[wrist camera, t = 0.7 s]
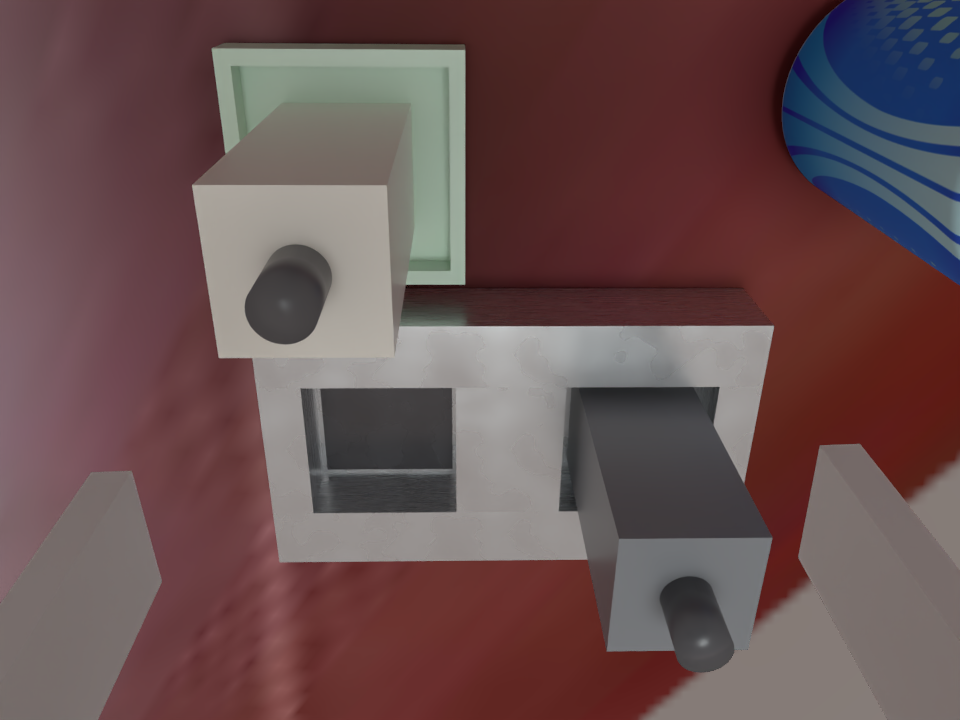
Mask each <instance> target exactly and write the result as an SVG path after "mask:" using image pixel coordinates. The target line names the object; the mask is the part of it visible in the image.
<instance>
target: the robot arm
mask: <svg viewBox="0 0 960 720" xmlns="http://www.w3.org/2000/svg"><path fill="white" fill-rule="evenodd" d="M798 558H799V560H800V562H801V563H802V565H803V567H804V569H805V571H806V573H807V574H808V576H809V578H810V580H811V582H812V584H813V585H814V587H815V589H816V591H817V593H818V594H819V596H820V598H821V600H822V602H823V603H824V605H825V607H826V609H827V611H828V613H829V614H830V616H831V618H832V620H833V622H834V623H835V625H836V627H837V629H838V631H839V633H840V634H841V636H842V638H843V640H844V641H845V644H846V645H847V647H848V649H849V651H850V653H851V655H852V656H853V658H854V660H855V662H856V663H857V665H858V667H859V669H860V671H861V673H862V675H863V676H864V678H865V680H866V682H867V684H868V686H869V687H870V689H871V691H872V693H873V695H874V696H875V698H876V700H877V702H878V704H879V705H880V707H881V709H882V711H883V713H884V715H885V717H886V718H887V720H960V570H959V568H958V567H957V566H956V565H955V563H954V562H953V561H952V559H951V558H950V557H949V556H948V554H947V553H946V552H945V551H944V549H943V548H942V547H941V546H940V544H939V543H938V542H937V541H936V539H935V538H934V537H933V536H932V534H931V533H930V532H929V530H928V529H927V528H926V527H925V525H924V524H923V523H922V522H921V520H920V519H919V518H918V517H917V515H916V514H915V513H914V512H913V510H912V509H911V508H910V506H909V505H908V504H907V503H906V501H905V500H904V499H903V498H902V496H901V495H900V494H899V493H898V491H897V490H896V489H895V488H894V486H893V485H892V484H891V483H890V481H889V480H888V479H887V478H886V476H885V475H884V474H883V472H882V471H881V470H880V469H879V467H878V466H877V465H876V464H875V462H874V461H873V460H872V459H871V457H870V456H869V455H868V454H867V452H866V451H865V450H864V449H863V447H862V446H861V445H860V444H847V445H820V448H819V453H818V458H817V463H816V469H815V474H814V479H813V484H812V489H811V494H810V499H809V505H808V510H807V515H806V520H805V525H804V530H803V536H802V541H801V546H800V551H799V556H798ZM161 582H162V580H161V576H160V573H159V569H158V566H157V562H156V558H155V555H154V551H153V547H152V544H151V540H150V536H149V533H148V529H147V525H146V522H145V518H144V514H143V511H142V507H141V503H140V500H139V496H138V492H137V489H136V485H135V481H134V478H133V474H132V471H115V472H91V473H90V475H89V476H88V478H87V479H86V481H85V482H84V484H83V485H82V486H81V488H80V489H79V491H78V492H77V494H76V495H75V497H74V498H73V500H72V501H71V502H70V504H69V505H68V507H67V508H66V510H65V511H64V513H63V514H62V515H61V517H60V518H59V520H58V521H57V523H56V524H55V526H54V527H53V528H52V530H51V531H50V533H49V534H48V536H47V537H46V539H45V540H44V542H43V543H42V544H41V546H40V547H39V549H38V550H37V552H36V553H35V555H34V556H33V557H32V559H31V560H30V562H29V563H28V565H27V566H26V568H25V569H24V570H23V572H22V573H21V575H20V576H19V578H18V579H17V581H16V582H15V583H14V585H13V586H12V588H11V589H10V591H9V592H8V594H7V595H6V597H5V598H4V599H3V601H2V602H1V604H0V720H98V718H99V716H100V714H101V712H102V710H103V708H104V705H105V703H106V701H107V699H108V697H109V695H110V693H111V690H112V688H113V686H114V684H115V682H116V680H117V677H118V675H119V673H120V671H121V669H122V667H123V664H124V662H125V660H126V658H127V656H128V654H129V652H130V649H131V647H132V645H133V643H134V641H135V639H136V636H137V634H138V632H139V630H140V628H141V626H142V623H143V621H144V619H145V617H146V615H147V613H148V610H149V608H150V606H151V604H152V602H153V600H154V598H155V595H156V593H157V591H158V589H159V587H160V585H161Z"/></svg>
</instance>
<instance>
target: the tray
mask: <svg viewBox="0 0 960 720" xmlns="http://www.w3.org/2000/svg"><path fill="white" fill-rule="evenodd" d="M212 56H213V63H214V71H215V78H216V85H217V93H218V100H219V108H220V115H221V123H222V130H223V138H224V145H225V153H228V152H229V151H230V150H231V149H232V148H233V147H234V146H235V145H236V144H237V143H239V142H240V141H241V140H242V139H243V138H244V137H245V136H246V135H247V134H248V133H249V132H251V131H252V130H253V129H254V128H255V127H256V126H257V125H258V124H259V123H260V122H262V121H263V120H264V119H265V118H266V117H267V116H268V115H269V114H270V113H271V112H273V111H274V110H275V109H276V108H277V107H278V106H279V105H280V104H281V103H411V116H412V151H413V185H414V219H415V229H414V235H413V241H412V248H411V254H410V261H409V267H408V274H407V280H406V285H465V45H464V44H311V43H223V44H221V45H218V46H216V47H214V48H212Z"/></svg>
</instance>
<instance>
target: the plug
mask: <svg viewBox="0 0 960 720" xmlns="http://www.w3.org/2000/svg"><path fill="white" fill-rule="evenodd" d="M192 188H193V195H194V201H195V208H196V214H197V220H198V227H199V233H200V240H201V246H202V253H203V259H204V266H205V272H206V278H207V285H208V291H209V298H210V304H211V311H212V317H213V324H214V330H215V337H216V343H217V349H218V356H219V358H395V351H396V345H397V338H398V332H399V326H400V319H401V313H402V306H403V300H404V293H405V287H406V280H407V274H408V267H409V261H410V254H411V248H412V241H413V235H414V229H415V219H414V185H413V151H412V116H411V103H281V104H280V105H279V106H278V107H277V108H276V109H275V110H274V111H273V112H271V113H270V114H269V115H268V116H267V117H266V118H265V119H264V120H263V121H262V122H260V123H259V124H258V125H257V126H256V127H255V128H254V129H253V130H252V131H251V132H249V133H248V134H247V135H246V136H245V137H244V138H243V139H242V140H241V141H240V142H239V143H237V144H236V145H235V146H234V147H233V148H232V149H231V150H230V151H229V152H228V153H226V154H225V155H224V156H223V157H222V158H221V159H220V160H219V161H218V162H217V163H216V164H214V165H213V166H212V167H211V168H210V169H209V170H208V171H207V172H206V173H205V174H203V175H202V176H201V177H200V178H199V179H198V180H197V181H196V182H195V183H194V184H192Z"/></svg>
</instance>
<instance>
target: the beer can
mask: <svg viewBox="0 0 960 720" xmlns="http://www.w3.org/2000/svg"><path fill="white" fill-rule="evenodd" d="M782 128H783V133H784V138H785V142H786V145H787V148H788V151H789V153H790V155H791V157H792V159H793V161H794V163H795V165H796V166H797V168H798V169H799V170H800V172H801V173H802V174H803V175H804V176H805V177H806V178H807V180H809V181H810V182H811V183H812V184H813V185H814V186H816V187H817V188H819V189H820V190H822V191H823V192H824V193H826V194H827V195H829V196H830V197H832V198H833V199H835V200H836V201H838V202H839V203H841V204H842V205H843V206H845V207H846V208H848V209H849V210H851V211H852V212H854V213H855V214H857V215H858V216H859V217H861V218H862V219H864V220H865V221H867V222H868V223H870V224H871V225H873V226H874V227H876V228H877V229H878V230H880V231H881V232H883V233H884V234H886V235H887V236H889V237H890V238H892V239H893V240H894V241H896V242H897V243H899V244H900V245H902V246H903V247H905V248H906V249H908V250H909V251H911V252H912V253H913V254H915V255H916V256H918V257H919V258H921V259H922V260H924V261H925V262H927V263H928V264H929V265H931V266H932V267H934V268H935V269H937V270H938V271H940V272H941V273H943V274H944V275H946V276H947V277H948V278H950V279H951V280H953V281H954V282H956V283H957V284H959V285H960V0H845V1H843V2H842V3H840V4H839V5H838V6H837V7H835V8H834V9H833V10H832V11H831V12H830V13H829V14H828V15H827V16H826V17H825V18H824V19H823V20H822V21H821V22H820V23H819V24H818V25H817V26H816V27H815V29H814V30H813V31H812V32H811V34H810V35H809V37H808V38H807V39H806V41H805V42H804V44H803V46H802V47H801V49H800V50H799V52H798V54H797V56H796V58H795V60H794V62H793V65H792V67H791V70H790V72H789V75H788V78H787V82H786V85H785V90H784V94H783V102H782Z"/></svg>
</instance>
